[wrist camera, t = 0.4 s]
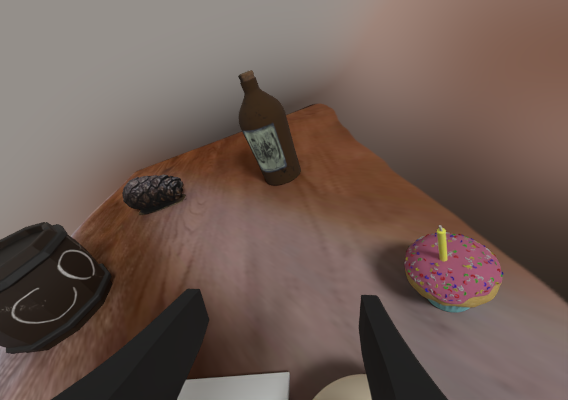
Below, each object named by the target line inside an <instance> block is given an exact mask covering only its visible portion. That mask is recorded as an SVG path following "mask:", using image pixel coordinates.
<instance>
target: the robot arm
mask: <svg viewBox="0 0 568 400" xmlns="http://www.w3.org/2000/svg"><path fill="white" fill-rule="evenodd" d="M208 322H209V317H208V314H207V311H206V308H205V304H204V301H203V298H202V295H201V291H200V289H187V290H186V291H185V292H183V293H182V294H181V295H180V296H179V297H178V298H177V299H176V300H175V301H174V302H173V303H172V304H171V305H170V306H168V307H167V308H166V309H165V310H164V311H163V312H162V313H161V314H160V315H159V316H158V317H157V318H156V319H154V320H153V321H152V322H151V323H150V324H149V325H148V326H147V327H146V328H145V329H143V330H142V331H141V332H140V333H139V334H138V335H136V336H135V337H134V338H133V339H132V340H131V341H129V342H128V343H127V344H126V345H125V346H124V347H122V348H121V349H120V350H119V351H118V352H116V353H115V354H114V355H113V356H111V357H110V358H109V359H108V360H106V361H105V362H104V363H102V364H101V365H100V366H98V367H97V368H96V369H94V370H93V371H92V372H90V373H89V374H88V375H86V376H85V377H83V378H82V379H80V380H79V381H77V382H76V383H75V384H73V385H72V386H70V387H69V388H67V389H66V390H64V391H63V392H61V393H60V394H59V395H57V396H56V397H54V398H53V399H51V400H177V398H178V396H179V394H180V392H181V389H182V387H183V385H184V383H185V381H186V378H187V376H188V374H189V372H190V369H191V367H192V365H193V363H194V360H195V358H196V356H197V353H198V351H199V349H200V347H201V344H202V341H203V338H204V335H205V332H206V329H207V326H208ZM359 334H360V343H361V351H362V357H363V361H364V366H365V371H366V375H367V380H368V384H369V389H370V393H371V398H372V400H448V399H447V398H446V396H445V395H444V394H443V393H442V392H441V390H440V389H439V388H438V386H437V385H436V384H435V383H434V381H433V380H432V379H431V377H430V376H429V375H428V373H427V372H426V371H425V369H424V368H423V367H422V365H421V364H420V363H419V361H418V360H417V358H416V357H415V356H414V354H413V353H412V351H411V350H410V348H409V347H408V345H407V344H406V342H405V341H404V339H403V338H402V336H401V335H400V333H399V332H398V330H397V329H396V327H395V325H394V324H393V322H392V320H391V319H390V317H389V315H388V314H387V312H386V310H385V308H384V307H383V305H382V303H381V301H380V299H379V297H378V296H376V295H361V305H360V318H359Z"/></svg>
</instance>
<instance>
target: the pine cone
mask: <svg viewBox="0 0 568 400" xmlns="http://www.w3.org/2000/svg"><path fill="white" fill-rule="evenodd" d="M182 187H183V182H182V181H181V179H180V178H178V177H173V176H170V177H169V176H168V175H162V176H157V175H155V176H143V177H140V178H139V177H137V178H134V179H132V180H130V181H129V182H128V183H127V184H126V186H125V187H124V189H123V198H124V200H123V201H124V202H125V203H126V204H127V205H128V206H129V207H131V208H134V209H139V210H140V212H139V214H142V215H143V214H148V213H151V212H155V211H158V210H161V209H164V208H166V207H169V206H172V205H175V204H177V203H180V202H182V201H183V199H184V198H185V196H186V195H185V194H182V191H183V188H182ZM186 199H187V198H186Z"/></svg>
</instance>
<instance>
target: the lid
mask: <svg viewBox="0 0 568 400" xmlns="http://www.w3.org/2000/svg"><path fill="white" fill-rule="evenodd" d="M313 400H372V398H371V393H370V389H369V384H368V380H367V375H366V374H357V375H350V376H346V377H343V378H340V379H338V380H336V381H334V382H332V383H330V384H329V385H328V386H326V387H325V388H323V389H322V390H321V391H320V392H319V393H318V394H317V395H316V396H315V397H314V399H313Z"/></svg>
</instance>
